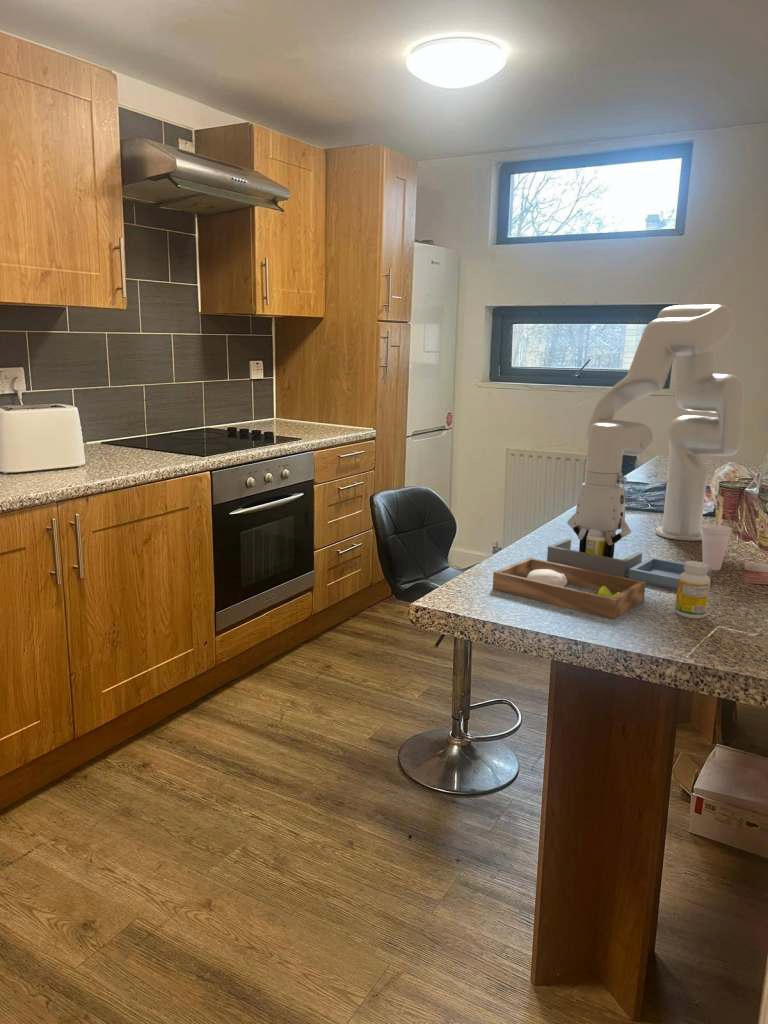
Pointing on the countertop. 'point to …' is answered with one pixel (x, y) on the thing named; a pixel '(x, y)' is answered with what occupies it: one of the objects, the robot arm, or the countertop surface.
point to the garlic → (548, 576)
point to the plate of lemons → (606, 592)
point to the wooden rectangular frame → (517, 584)
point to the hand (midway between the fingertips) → (595, 557)
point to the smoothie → (714, 543)
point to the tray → (659, 573)
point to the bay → (591, 560)
